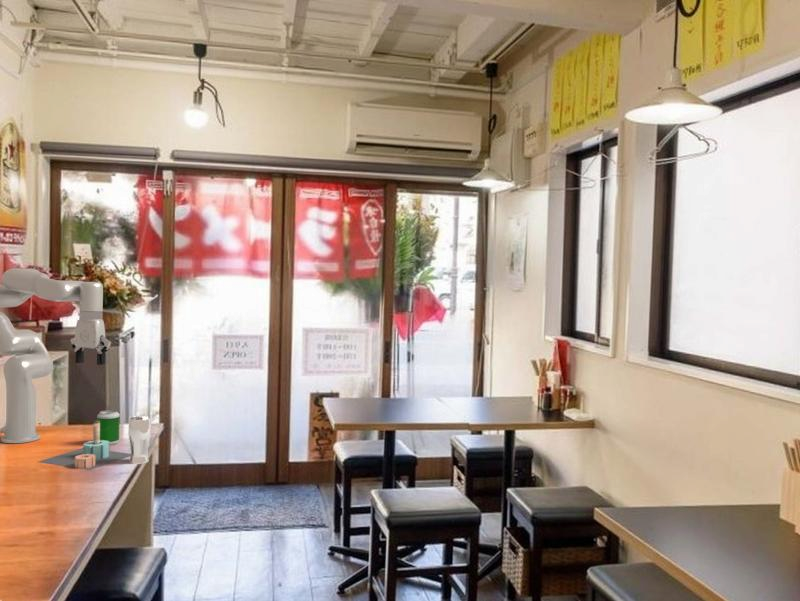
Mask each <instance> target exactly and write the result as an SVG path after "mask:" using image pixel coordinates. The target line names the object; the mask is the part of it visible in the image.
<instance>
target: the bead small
mask: <svg viewBox="0 0 800 601" xmlns="http://www.w3.org/2000/svg"><path fill="white" fill-rule="evenodd" d="M95 462H96V455H94V454H86V455H85V454H82V455H78V456H76V457H75V467H76V468H75V469H80V468H89V467H93V466H95Z"/></svg>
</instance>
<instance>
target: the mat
mask: <svg viewBox="0 0 800 601" xmlns="http://www.w3.org/2000/svg"><path fill="white" fill-rule="evenodd" d="M82 454H83V447H82V448H79V449H75V450H70V451H68V452H65V453H62V454H58V455H55V456H52V457H51V456H50V457H47V458H46V459H41V460H38V461H37V463H40V464H41V463H42V464H48V465H53V466H62V467H67V468H68V467H69V468H75V469H77V468H76V467H75V457H76V456H78V455H82ZM130 456H131V453H126V452H119V451H112V450H109V456H108V457H106V458H101V459H96V462H95V466H93V467H89V468H79V469H81V470H87V471H91V470H95V469H97V468H98V469H99V468H100V467H103V466H106V465H109V464H111V463H115V462H117V461H120V460H123V459H127V458H130Z"/></svg>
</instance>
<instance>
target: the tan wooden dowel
mask: <svg viewBox="0 0 800 601" xmlns="http://www.w3.org/2000/svg"><path fill="white" fill-rule="evenodd" d="M92 430H93V432H92V433H93V434H92V435H93V436H92V437H93V438H92V439H93V440H92V441H93V444H100V421H97V420H94V421H93V429H92Z"/></svg>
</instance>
